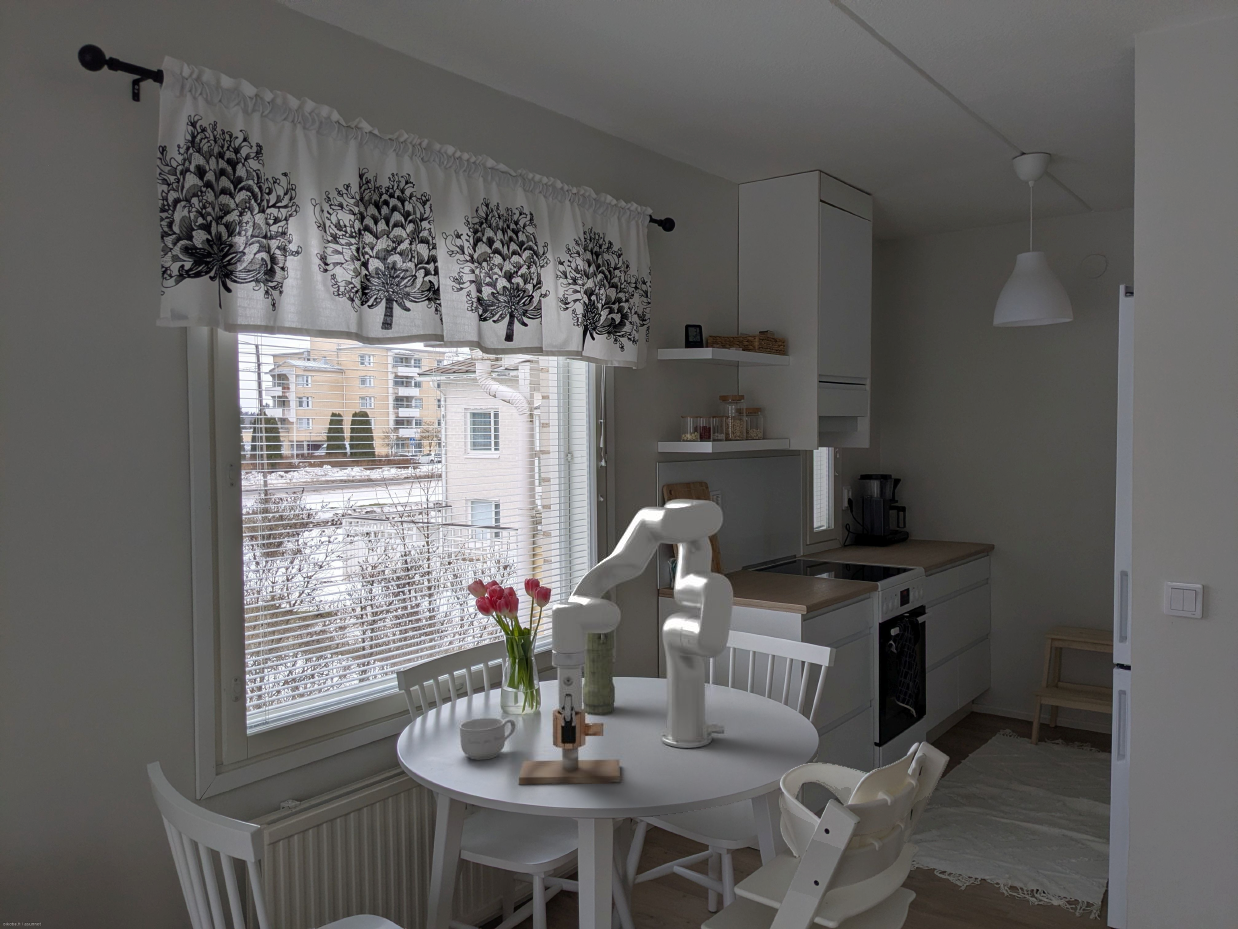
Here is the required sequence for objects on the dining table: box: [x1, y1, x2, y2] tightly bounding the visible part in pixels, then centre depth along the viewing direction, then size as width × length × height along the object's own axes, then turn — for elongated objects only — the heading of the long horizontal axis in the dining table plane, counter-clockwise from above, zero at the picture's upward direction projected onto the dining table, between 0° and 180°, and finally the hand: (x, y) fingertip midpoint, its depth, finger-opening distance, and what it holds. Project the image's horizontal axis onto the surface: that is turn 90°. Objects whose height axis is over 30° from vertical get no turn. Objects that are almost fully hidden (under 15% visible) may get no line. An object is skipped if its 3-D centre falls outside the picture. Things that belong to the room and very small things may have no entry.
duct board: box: [518, 748, 621, 785], centre depth 192 cm, size 22×10×8 cm, turn 91°
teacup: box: [459, 716, 516, 761], centre depth 206 cm, size 14×11×8 cm
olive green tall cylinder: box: [582, 589, 616, 716], centre depth 240 cm, size 9×12×35 cm
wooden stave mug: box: [552, 708, 604, 749], centre depth 192 cm, size 7×11×7 cm, turn 91°
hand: (569, 736), depth 192 cm, fingers closed on wooden stave mug, 7 cm apart
